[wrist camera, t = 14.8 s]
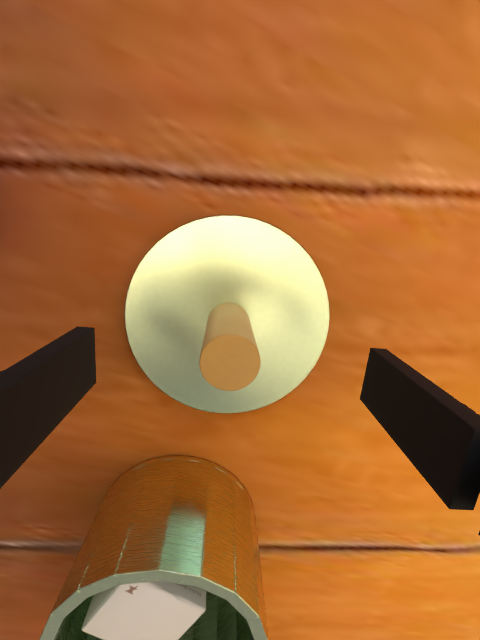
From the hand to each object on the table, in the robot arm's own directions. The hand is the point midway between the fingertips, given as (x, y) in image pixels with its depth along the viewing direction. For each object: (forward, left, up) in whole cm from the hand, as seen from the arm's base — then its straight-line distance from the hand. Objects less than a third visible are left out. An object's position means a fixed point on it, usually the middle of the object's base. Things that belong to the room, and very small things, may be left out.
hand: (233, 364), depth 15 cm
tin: (-3, -19, -9) cm, 21 cm away
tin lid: (0, 0, -8) cm, 8 cm away
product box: (-4, -19, -9) cm, 21 cm away
